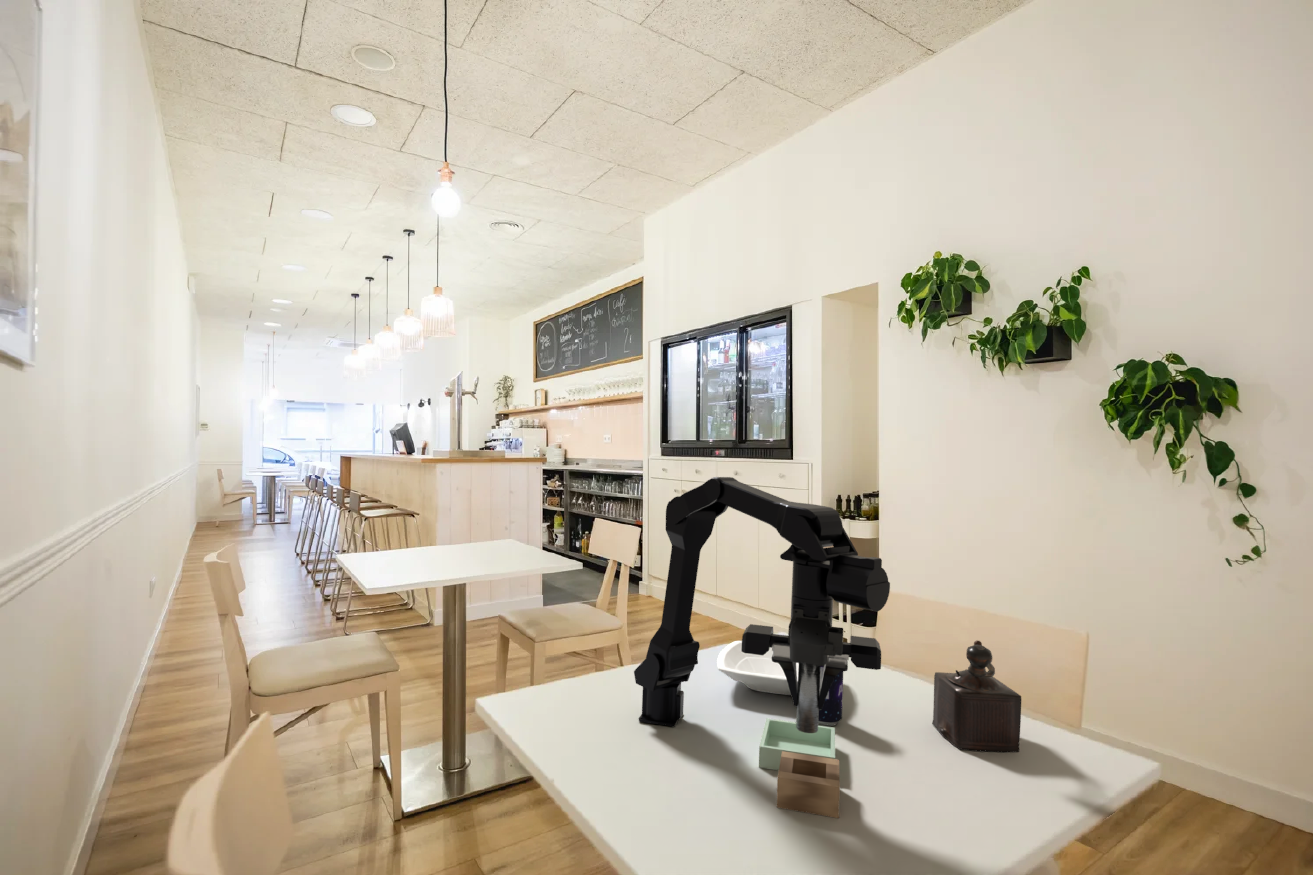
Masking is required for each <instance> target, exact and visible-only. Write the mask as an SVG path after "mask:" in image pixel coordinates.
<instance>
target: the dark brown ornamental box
mask: <svg viewBox="0 0 1313 875" xmlns="http://www.w3.org/2000/svg"><path fill="white" fill-rule="evenodd" d="M965 655H966V658H967V660H968V662H969V666H968V667H967V669H965V670H960V671H958V670H957V669H955V672H939V671H938V672H937V671H936V672H934V677H933V678H934V679H933V715H932V723H931V724H932V726H933V727H934V728H935V729H936V730H937V731H938V733H940V735H941V736H942V737H943V738H944V739H945V740H947V741H948V742H949V743H950V744H951V745H953V746H954V747H956V748H958V749H960V750H964V751H971V752H982V753H983V752H988V753H1019V752H1020V741H1021V740H1020V738H1021V721H1022V720H1021V719H1022V696H1021V695H1020V694H1019V693H1017V692H1016V691H1015V690H1013V689H1012V688H1011V687H1009V686H1007V685H1006V684H1004V683H1003V682H1001V681H1000V680H999V679H997V678H995V677H994V676H995V674H996V670H995V669H996V668H995V666H994V665H993V664H992V662H993V654H992V651H991V650H990V649H989V648H987V647H985V646H984V645H983V643H982V641H981V640H975V641H974V642H973V645H971V646H968V647H967V648H966V654H965ZM986 668H987V670H986Z"/></svg>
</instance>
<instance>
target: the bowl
mask: <svg viewBox="0 0 1313 875" xmlns="http://www.w3.org/2000/svg"><path fill="white" fill-rule="evenodd" d="M741 649H742V640H734V641H732V642H731V643H729V644H727V645H726V646H725V647H724V648H723V649H722V650H721V651H720V652H719V654H718V656H717V659H716V665H717V670H718V671H720V672H721V673H722V674H724V675H725V676H727V677H728V678H730V679H731V680H733V681H735V682H739V683H742V684H744V685H745V686H746V687H747V688H749V689H750V690H753V691H757V692H763V693H769V694H777V695H785V696H786V695H787V696H791V693H790V689H789V686H788V682H787V679H786V676H785V674H784V672H783V669H782V668H781V666H780V665H779V663H775V662H773V661H772V655H773V651H772V648H771V647H769V651H768V652H767V653H765V654H764V655H756V654H748V653H744V652H742V651H741ZM798 668H799V663H796V671H797V685H798Z"/></svg>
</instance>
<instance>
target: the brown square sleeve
mask: <svg viewBox="0 0 1313 875" xmlns="http://www.w3.org/2000/svg"><path fill="white" fill-rule="evenodd" d="M777 773H778V774H777V779H776V780H777V783H776V787H777V788H776V808H777V809H783V810H784V809H785V810H790V811H794V812H795V811H796V812H800V813H807V814H813V815H819V816H824V817H830V818H835V819H839V818H840V791H841V790H840V789H841V785H840V782H841V781H840V780H841V779H840V777H841V776H840V760H839V759H837V758H835V759H830V758H824V757H817V756H811V755H804V754H797V753H791V752H784V751H782V754H781V760H780V766H779V770H778V772H777Z"/></svg>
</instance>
